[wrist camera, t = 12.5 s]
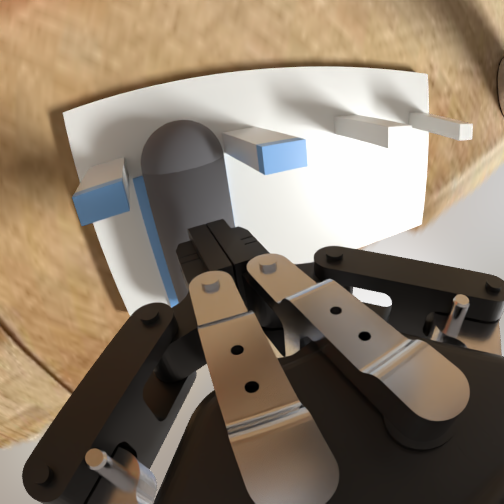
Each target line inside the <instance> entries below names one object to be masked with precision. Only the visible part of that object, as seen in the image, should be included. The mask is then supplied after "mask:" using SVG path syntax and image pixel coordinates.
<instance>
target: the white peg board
mask: <svg viewBox="0 0 504 504" xmlns="http://www.w3.org/2000/svg"><path fill="white" fill-rule="evenodd" d="M63 116H64V121H65V126H66V130H67V135H68V139H69V143H70V147H71V151H72V155H73V159H74V163H75V166H76V170H77V174H78V177H79V181H80V184H79V186H78V188H77V190H76V191H75V193H74V195H73V197H72V199H73V202H74V205H75V208H76V211H77V214H78V217H79V220H80V223H81V226H85V225H88V224H91V223H93V225H94V228H95V231H96V233H97V236H98V239H99V242H100V244H101V247H102V250H103V252H104V255H105V258H106V260H107V263H108V265H109V268H110V270H111V273H112V275H113V278H114V280H115V283H116V285H117V287H118V290H119V292H120V294H121V297H122V299H123V301H124V304H125V306H126V308H127V310H128V312H129V315H130V316H131V315H132V314H133V313H134V312H135V311H136V310H137V309H138V308H140V307H142V306H144V305H146V304H149V303H154V302H161V303H165V304H168V305H169V306H170V307H171V308H172V307H173V306H175V305H177V304H178V303H179V302H178V299H177V296H176V292H175V289H174V286H173V283H172V280H171V277H170V274H169V270H168V267H167V264H166V260H165V257H164V254H163V250H162V247H161V243H160V240H159V236H158V233H157V229H156V226H155V222H154V218H153V215H152V211H151V207H150V203H149V199H148V195H147V191H146V187H145V183H144V179H143V175H142V170H141V154H142V151H143V147H144V145H145V143H146V141H147V140H148V138H149V137H150V136H151V135H152V133H153V132H154V131H156V130H157V129H158V128H159V127H161V126H163V125H164V124H166V123H169V122H172V121H177V120H192V121H195V122H198V123H201V124H203V125H204V126H206V127H208V128H209V129H210V130H211V131H212V132H213V133H214V134H215V135H216V137H217V138H218V140H219V142H220V144H221V146H222V149H223V153H224V160H225V166H226V173H227V179H228V186H229V192H230V199H231V205H232V211H233V218H234V224H235V227H238V226H239V227H242V228H244V229H247V230H248V231H249V232H250V233H251V234H252V235H253V237H255V238H256V239H257V241H259V242H260V243H261V244H262V245H263V246H264V248H265V249H266V250H267V251H268V252H269V253H270V254H271V253H272V254H279V255H282V256H284V257H286V258H287V259H288V260H290V261H291V262H292V263H293V264H303V263H311V262H314V254H315V252H316V251H317V250H319V249H321V248H323V247H327V246H341V247H347V248H352V249H357V248H360V247H363V246H366V245H368V244H371V243H374V242H377V241H379V240H382V239H385V238H387V237H390V236H393V235H395V234H398V233H400V232H403V231H406V230H408V229H411V228H414V227H416V226H419V225H422V217H423V209H424V200H425V190H426V178H427V164H428V142H429V132H431V133H434V134H438V135H442V136H445V137H449V138H452V139H456V140H459V141H460V140H472V131H473V124H471V123H468V122H464V121H460V120H456V119H451V118H447V117H443V116H438V115H433V114H429V93H428V74H423V73H416V72H408V71H399V70H389V69H377V68H361V67H286V68H269V69H257V70H246V71H237V72H228V73H221V74H214V75H207V76H201V77H195V78H189V79H183V80H178V81H173V82H168V83H163V84H159V85H154V86H150V87H146V88H142V89H137V90H134V91H130V92H126V93H122V94H119V95H115V96H112V97H108V98H105V99H101V100H98V101H95V102H92V103H89V104H86V105H83V106H80V107H77V108H74V109H71V110H68V111H66V112H63Z"/></svg>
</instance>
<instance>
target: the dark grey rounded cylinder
mask: <svg viewBox="0 0 504 504" xmlns="http://www.w3.org/2000/svg"><path fill="white" fill-rule="evenodd" d="M141 170H142V175H143V179H144V183H145V187H146V191H147V195H148V199H149V203H150V207H151V211H152V215H153V218H154V222H155V226H156V229H157V233H158V236H159V240H160V243H161V247H162V250H163V254H164V257H165V260H166V264H167V267H168V270H169V274H170V277H171V280H172V283H173V286H174V289H175V292H176V296H177V299H178V302H179V303H180V302H181V301H182V300H183V299H184V298H185V297H186V296H187V294H188V290H187V288H186V285H185V282H184V279H183V275H182V272H181V269H180V265H179V262H178V258H177V254H176V249H177V247H178V244H180V243H183V242H187V241H190V240H189V236H188V230H187V229H189V228H192V227H196V226H199V225H203V224H205V225H206V223H209V222H213V221H216V220H220V219H224V220H225V221H226V223H227V224H228V225H229V226H230V227H231V228H234V227H235V224H234V218H233V211H232V205H231V199H230V192H229V186H228V179H227V173H226V166H225V160H224V153H223V149H222V146H221V144H220V142H219V140H218V138H217V137H216V135H215V134H214V133H213V132H212V131H211V130H210V129H209V128H208V127H206V126H204V125H203V124H201V123H198V122H195V121H192V120H177V121H172V122H169V123H166V124H164V125H163V126H161V127H159V128H158V129H157V130H156V131H154V132H153V133H152V135H151V136H150V137H149V138H148V140H147V141H146V143H145V145H144V147H143V151H142V154H141Z"/></svg>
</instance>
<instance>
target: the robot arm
mask: <svg viewBox="0 0 504 504" xmlns="http://www.w3.org/2000/svg"><path fill="white" fill-rule="evenodd" d="M498 95H499V102H500V106H501V110H502V113H503V115H504V58H503V59H502V61H501V63H500V66H499V71H498ZM187 230H188V236H189V240H190V241H187V242H183V243H180V244H178V247H177V249H176V254H177V258H178V262H179V265H180V269H181V272H182V275H183V279H184V282H185V285H186V288H187V290H188V294H187V296H186V297H185V298H184V299H183V300H182V301H181V302H180V303H178V304H177V305H175V306H173V307H172V308H171V307H170V306H169V305H168V304H165V303H161V302H154V303H149V304H146V305H144V306H142V307H140V308H138V309H137V310H136V311H135V312H134V313H133V314H132V315H131V316H130V317H129V319H128V320H127V321H126V323H125V324H124V325H123V326H122V328H121V329H120V330H119V332H118V333H117V334H116V335H115V337H114V338H113V339H112V341H111V342H110V343H109V345H108V346H107V347H106V349H105V350H104V351H103V353H102V354H101V355H100V357H99V358H98V359H97V361H96V362H95V363H94V365H93V366H92V367H91V369H90V370H89V371H88V373H87V374H86V375H85V377H84V378H83V380H82V381H81V382H80V384H79V385H78V386H77V388H76V389H75V391H74V392H73V393H72V395H71V396H70V398H69V399H68V400H67V402H66V403H65V405H64V406H63V408H62V409H61V410H60V412H59V413H58V415H57V416H56V418H55V419H54V421H53V422H52V423H51V425H50V426H49V428H48V429H47V431H46V432H45V434H44V435H43V437H42V438H41V440H40V441H39V443H38V444H37V446H36V447H35V449H34V450H33V452H32V454H31V455H30V457H29V458H28V460H27V461H26V463H25V465H24V468H23V474H22V479H23V484H24V487H25V489H26V491H27V492H28V494H29V495H30V496H31V497H32V498H34V499H35V500H37V501H39V502H41V503H43V504H504V357H503V356H502V354H501V339H500V328H499V320H500V318H501V316H502V314H503V311H504V281H503V280H502V279H500V278H499V277H497V276H494V275H490V274H485V273H480V272H475V271H470V270H465V269H460V268H455V267H450V266H444V265H439V264H434V263H429V262H423V261H418V260H413V259H408V258H402V257H397V256H391V255H386V254H380V253H374V252H369V251H364V250H358V249H352V248H347V247H341V246H327V247H323V248H321V249H319V250H317V251H316V252H315V254H314V262H311V263H303V264H293V263H292V262H291V261H290V260H288V259H287V258H286V257H284V256H282V255H279V254H272V253H271V254H270V253H269V252H268V251H267V250H266V249H265V248H264V246H263V245H262V244H261V243H260V242H259V241H257V239H256V238H255V237H253V235H252V234H251V233H250V232H249V231H248V230H247V229H244V228H242V227H239V226H238V227H234V228H231V227H230V226H229V225H228V224H227V223H226V221H225V220H224V219H220V220H216V221H213V222H209V223H206V225H205V224H203V225H199V226H196V227H192V228H189V229H187ZM353 287H357V288H362V289H367V290H371V291H376V292H381V293H385V294H387V295H388V296H389V297H390V298H391V300H392V305H391V306H389V307H382V306H378V305H373V304H368V303H364V302H361V301H360V300H358V299H357V298H356V297H354V296H353V295H352V293H353ZM205 364H207V365H208V368H209V372H210V375H211V379H212V382H213V386H214V389H215V390H214V391H212V392H211V393H210V394H209V395H207V396H206V397H205V398H204V399H203V401H202V402H201V403H200V404H199V405H198V407H197V408H196V410H195V411H194V413H193V414H192V416H191V418H190V420H189V423H188V425H187V427H186V429H185V432H184V434H183V436H182V439H181V441H180V443H179V445H178V448H177V450H176V452H175V455H174V457H173V459H172V462H171V464H170V466H169V468H168V471H167V473H166V475H165V478H164V480H163V482H162V484H161V487H160V489H159V491H158V494H157V496H156V498H155V500H154V497H155V493H156V490H157V482H156V479H155V476H154V475H153V473H152V472H151V471H150V470H149V469H150V467H151V465H152V463H153V461H154V460H155V458H156V456H157V454H158V452H159V450H160V448H161V446H162V444H163V442H164V440H165V438H166V436H167V434H168V432H169V430H170V428H171V426H172V424H173V422H174V420H175V418H176V416H177V414H178V412H179V410H180V409H181V407H182V404H183V403H184V401H185V399H186V397H187V394H188V393H189V391H190V389H191V387H192V385H193V383H194V381H195V378H196V370H198V369H199V368H201V367H202V366H204V365H205Z"/></svg>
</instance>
